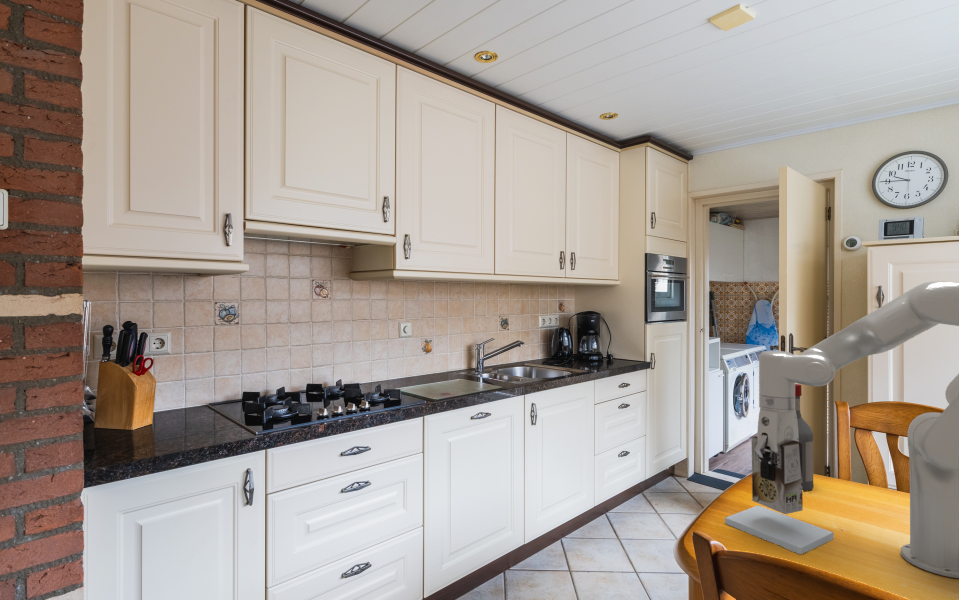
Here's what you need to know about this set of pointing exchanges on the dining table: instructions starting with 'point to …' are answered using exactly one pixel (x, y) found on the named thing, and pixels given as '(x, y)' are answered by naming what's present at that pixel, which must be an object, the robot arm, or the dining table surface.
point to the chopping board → (780, 529)
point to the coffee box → (779, 479)
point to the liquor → (804, 444)
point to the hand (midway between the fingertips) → (776, 475)
